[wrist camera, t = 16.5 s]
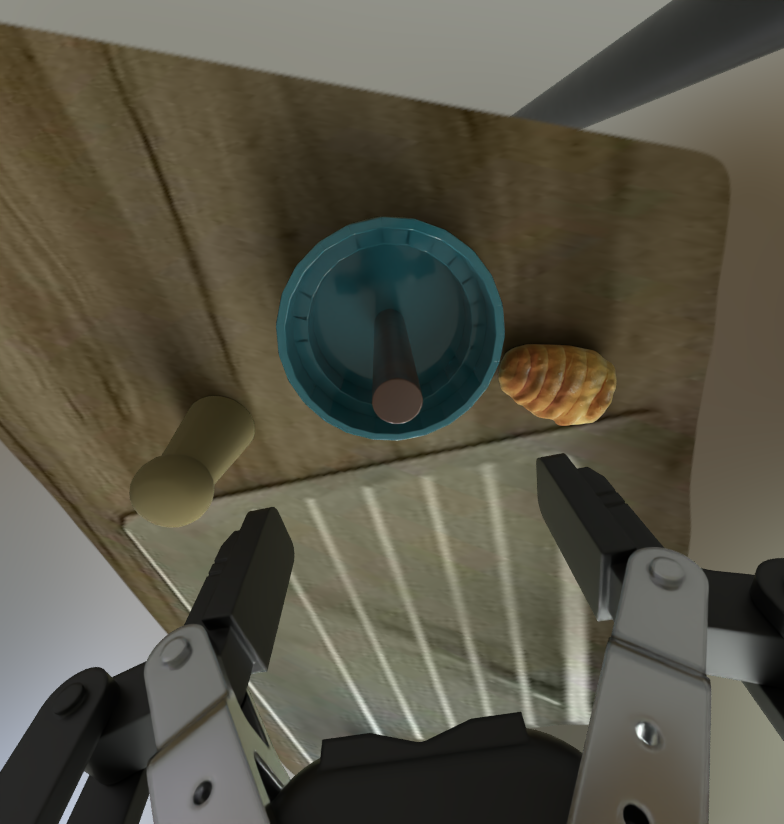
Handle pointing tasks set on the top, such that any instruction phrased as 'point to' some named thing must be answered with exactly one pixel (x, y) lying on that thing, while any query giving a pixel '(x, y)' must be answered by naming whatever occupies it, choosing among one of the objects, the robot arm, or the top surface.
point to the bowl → (403, 292)
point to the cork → (192, 463)
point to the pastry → (558, 382)
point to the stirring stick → (394, 371)
